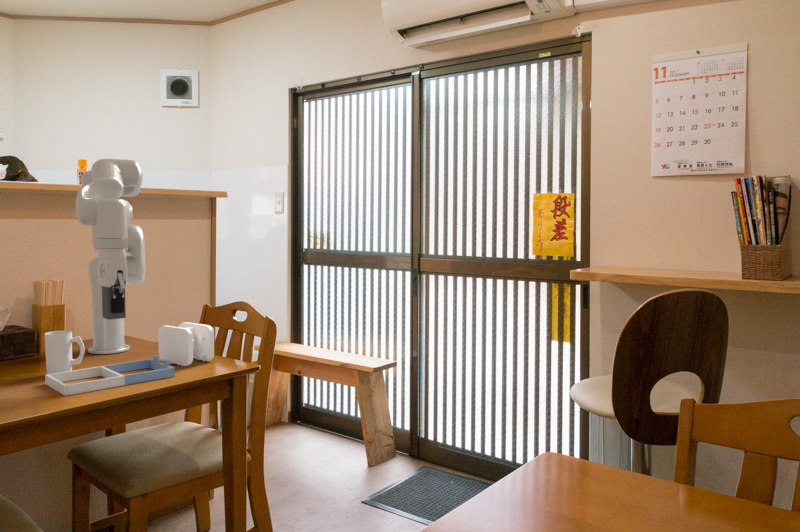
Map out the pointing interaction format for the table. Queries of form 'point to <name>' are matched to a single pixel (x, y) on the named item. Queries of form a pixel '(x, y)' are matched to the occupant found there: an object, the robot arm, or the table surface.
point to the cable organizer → (186, 343)
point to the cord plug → (107, 304)
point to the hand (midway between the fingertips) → (114, 310)
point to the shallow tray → (109, 376)
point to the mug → (61, 351)
